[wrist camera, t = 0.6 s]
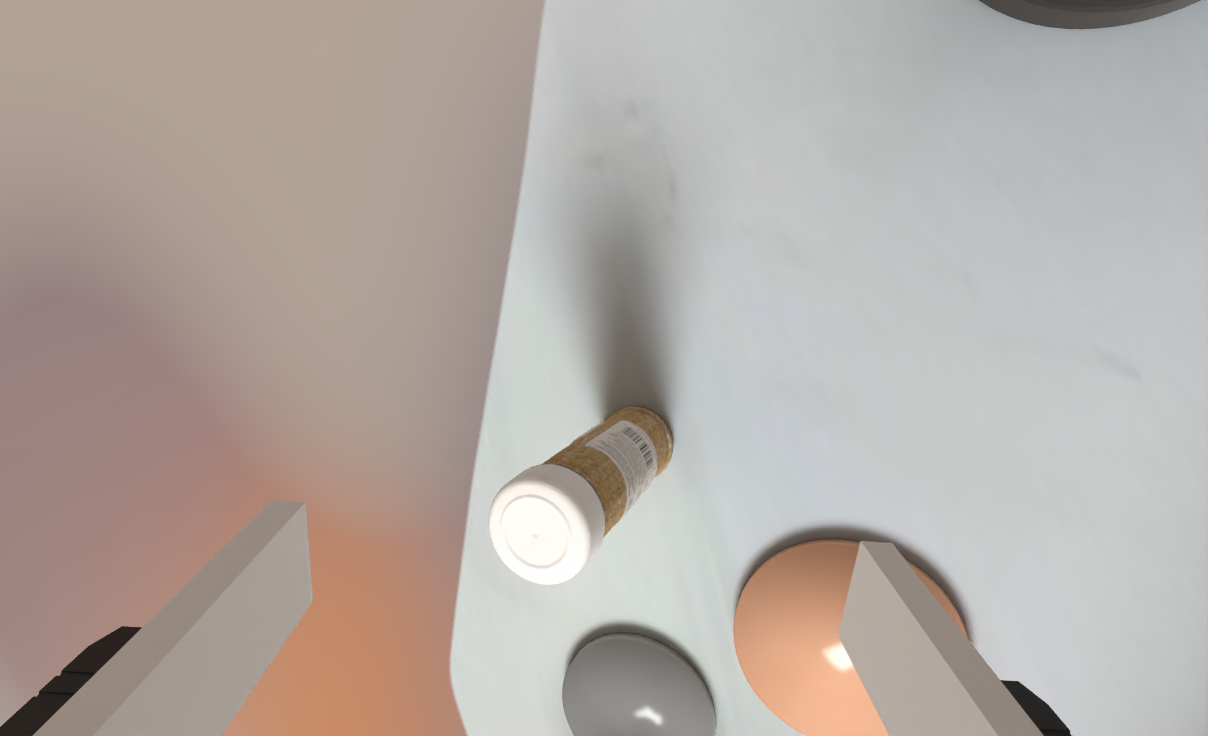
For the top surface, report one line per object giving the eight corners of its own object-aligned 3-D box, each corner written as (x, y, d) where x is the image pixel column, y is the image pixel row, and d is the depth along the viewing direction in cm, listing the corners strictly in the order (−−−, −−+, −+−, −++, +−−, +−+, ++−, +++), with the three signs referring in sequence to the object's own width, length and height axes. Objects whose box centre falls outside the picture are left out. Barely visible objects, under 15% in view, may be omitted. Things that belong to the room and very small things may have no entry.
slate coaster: (665, 612, 37) (661, 619, 37) (746, 758, 37) (744, 768, 36) (541, 658, 41) (536, 665, 40) (613, 791, 41) (609, 800, 40)
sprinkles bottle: (593, 416, 37) (469, 490, 25) (661, 396, 35) (565, 466, 23) (616, 486, 37) (506, 596, 25) (686, 470, 35) (604, 580, 23)
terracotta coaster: (896, 505, 32) (897, 511, 31) (1016, 712, 31) (1020, 723, 30) (698, 581, 36) (695, 588, 35) (799, 763, 36) (798, 773, 35)
